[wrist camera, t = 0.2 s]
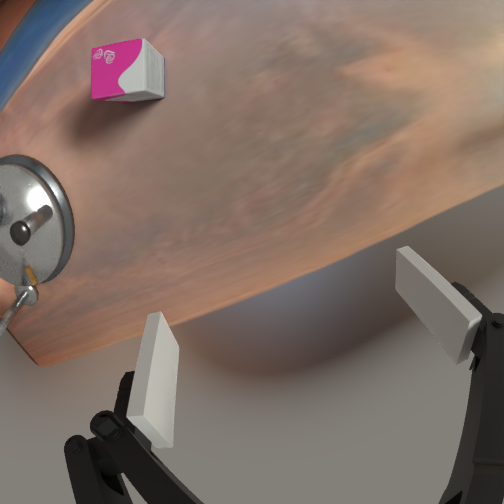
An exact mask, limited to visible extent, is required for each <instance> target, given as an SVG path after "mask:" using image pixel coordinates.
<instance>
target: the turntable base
mask: <svg viewBox="0 0 504 504" xmlns="http://www.w3.org/2000/svg"><path fill="white" fill-rule="evenodd" d="M5 163H19V164H23V165H25V166H28V167H30V168H31V169H33V170H34V171H36V172H37V173H38V174H39V175H41V176H42V177H43V178H44V180H45V181H46V182H47V183H48V184H49V186H50V187H51V189H52V190H53V192H54V194H55V195H56V197H57V199H58V202H59V204H60V207H61V210H62V213H63V217H64V221H65V229H66V241H65V248H64V253H63V256H62V258H61V260H60V262H59V264H58V266H57V267H56V268H55V270H54V271H53V272H52V273H51V275H50V276H49V277H48V278H47V279H46V280H44V281H43V282H41V283H44V282H47V281H49V280H51V279H53V278H54V277H56V276H57V275H58V274H59V273H60V272H61V270H62V269H63V268H64V266H65V265H66V264H67V262H68V260H69V258H70V255H71V253H72V249H73V245H74V237H75V226H74V218H73V213H72V209H71V206H70V203H69V199H68V197H67V195H66V193H65V191H64V189H63V187H62V185H61V184H60V182H59V181H58V179H57V178H56V176H55V175H54V174H53V173H52V172H51V171H50V170H49V169H48V168H47V167H46V166H45V165H43V164H42V163H41V162H39V161H37V160H36V159H34V158H31V157H29V156H25V155H16V154H15V155H8V156H5V157H3V158H0V165H2V164H5ZM39 284H40V283H39Z"/></svg>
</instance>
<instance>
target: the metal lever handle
mask: <svg viewBox="0 0 504 504" xmlns="http://www.w3.org/2000/svg"><path fill="white" fill-rule="evenodd" d="M15 293H16V295H17V299H16V300H15V301H14V302H13V304H12V305H11V306H10V308H9V309H8V310H7V312H6V313H5V314H4V316H3V317H2V319H1V320H0V337H1V335H2V334H3V332H4V331H5V329H6V328H7V326H8V325H9V324H10V322H11V321H12V319H13V318H14V316H15V315H16V314H17V312H18V311H19V309H20V308H21V307H22V305H23V304H25V305H28V306H32V305H34V304H35V303H36V301H37V300H38V296H39V295H38V291H37V289H36V287H35V286H34V285H33V286H19V285H16V286H15Z"/></svg>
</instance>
